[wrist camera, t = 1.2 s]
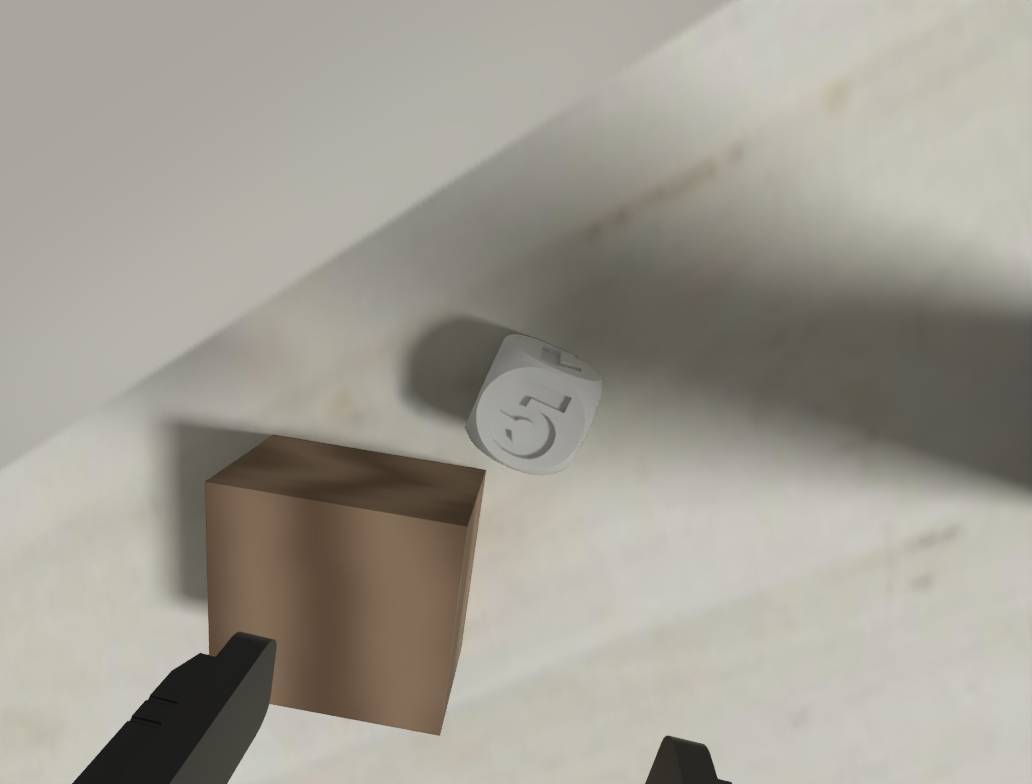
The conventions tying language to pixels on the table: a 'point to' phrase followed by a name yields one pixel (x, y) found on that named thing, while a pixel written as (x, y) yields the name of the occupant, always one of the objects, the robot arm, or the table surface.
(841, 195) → the table surface
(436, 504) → the pedestal
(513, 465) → the die
